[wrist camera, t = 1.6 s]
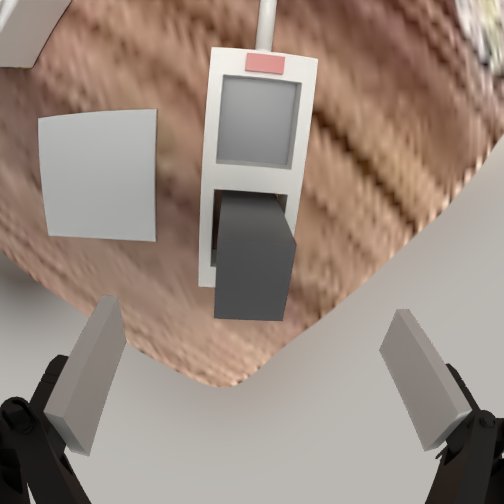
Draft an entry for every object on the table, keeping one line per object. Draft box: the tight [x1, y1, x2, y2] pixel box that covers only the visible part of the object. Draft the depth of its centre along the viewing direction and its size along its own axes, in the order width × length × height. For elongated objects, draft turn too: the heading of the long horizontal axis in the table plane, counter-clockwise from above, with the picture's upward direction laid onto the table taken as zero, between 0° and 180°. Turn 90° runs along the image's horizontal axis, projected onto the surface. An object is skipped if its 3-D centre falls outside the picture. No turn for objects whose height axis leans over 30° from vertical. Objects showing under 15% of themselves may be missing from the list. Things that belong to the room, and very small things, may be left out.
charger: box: [214, 190, 297, 321], centre depth 21 cm, size 5×4×10 cm
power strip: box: [199, 0, 318, 287], centre depth 20 cm, size 27×7×4 cm, turn 175°
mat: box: [38, 109, 158, 242], centre depth 23 cm, size 11×11×1 cm
